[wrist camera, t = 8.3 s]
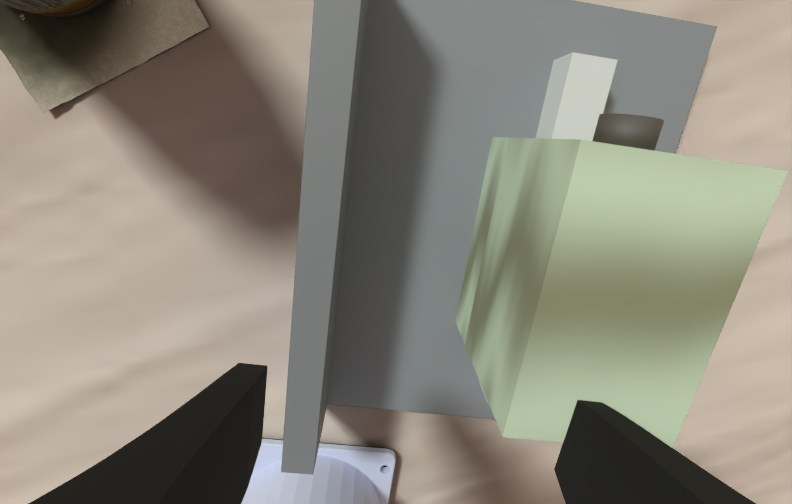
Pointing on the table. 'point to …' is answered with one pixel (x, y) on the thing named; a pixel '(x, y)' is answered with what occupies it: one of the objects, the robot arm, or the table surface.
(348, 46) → the board
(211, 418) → the robot arm
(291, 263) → the table surface
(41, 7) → the condiment
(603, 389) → the block
